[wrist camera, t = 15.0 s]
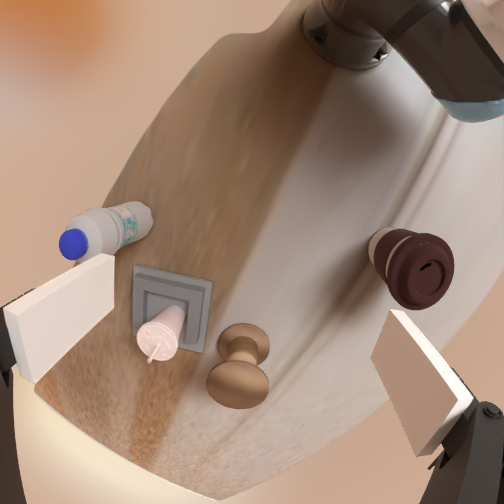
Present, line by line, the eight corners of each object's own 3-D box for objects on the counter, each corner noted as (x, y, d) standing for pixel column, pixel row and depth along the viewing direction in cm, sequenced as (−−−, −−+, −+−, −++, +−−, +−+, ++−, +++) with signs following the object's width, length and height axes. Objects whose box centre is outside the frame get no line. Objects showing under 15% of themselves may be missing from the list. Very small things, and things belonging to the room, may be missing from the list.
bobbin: (222, 318, 49) (209, 358, 37) (274, 328, 49) (274, 370, 37) (216, 359, 51) (203, 402, 40) (263, 368, 51) (261, 413, 40)
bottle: (160, 202, 45) (90, 221, 25) (155, 242, 46) (88, 283, 27) (124, 195, 45) (45, 211, 25) (120, 234, 46) (45, 269, 27)
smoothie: (188, 335, 49) (163, 384, 36) (155, 323, 49) (122, 367, 36) (196, 305, 48) (171, 351, 34) (161, 292, 47) (125, 332, 34)
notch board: (135, 264, 48) (128, 269, 45) (213, 281, 47) (209, 287, 44) (134, 332, 51) (128, 340, 48) (204, 350, 51) (200, 359, 48)
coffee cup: (404, 279, 45) (447, 317, 31) (354, 273, 46) (386, 313, 31) (417, 224, 43) (468, 244, 28) (366, 213, 43) (407, 231, 29)
